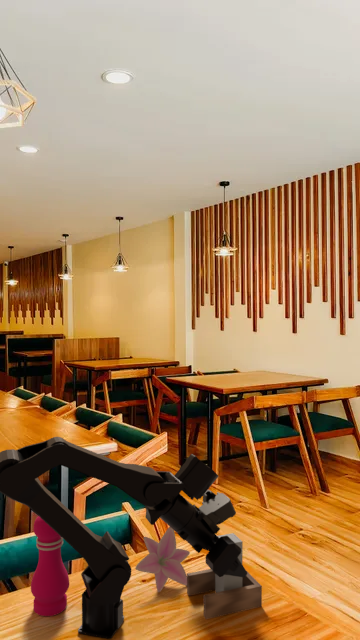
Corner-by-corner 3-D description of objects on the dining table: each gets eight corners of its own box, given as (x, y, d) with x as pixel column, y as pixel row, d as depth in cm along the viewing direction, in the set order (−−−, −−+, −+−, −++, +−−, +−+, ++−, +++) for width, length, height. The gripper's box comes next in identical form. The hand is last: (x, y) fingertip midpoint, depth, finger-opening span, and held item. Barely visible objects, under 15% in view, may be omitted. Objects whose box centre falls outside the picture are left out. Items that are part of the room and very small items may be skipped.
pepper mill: (74, 597, 104) (73, 498, 104) (62, 619, 97) (61, 512, 97) (39, 595, 105) (38, 497, 105) (24, 617, 98) (23, 511, 97)
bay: (205, 619, 97) (205, 598, 97) (187, 593, 106) (187, 573, 106) (261, 606, 101) (261, 586, 101) (239, 582, 110) (239, 563, 110)
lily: (125, 596, 107) (139, 564, 103) (131, 549, 118) (144, 518, 114) (181, 610, 108) (197, 579, 105) (182, 562, 119) (196, 533, 115)
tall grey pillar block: (223, 606, 102) (223, 544, 101) (215, 595, 105) (215, 536, 105) (242, 601, 103) (242, 541, 103) (233, 591, 107) (233, 533, 106)
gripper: (231, 500, 93) (285, 551, 97) (192, 469, 111) (239, 514, 115) (190, 551, 91) (247, 601, 95) (156, 512, 108) (206, 555, 112)
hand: (234, 564), depth 104 cm, fingers open, 9 cm apart
